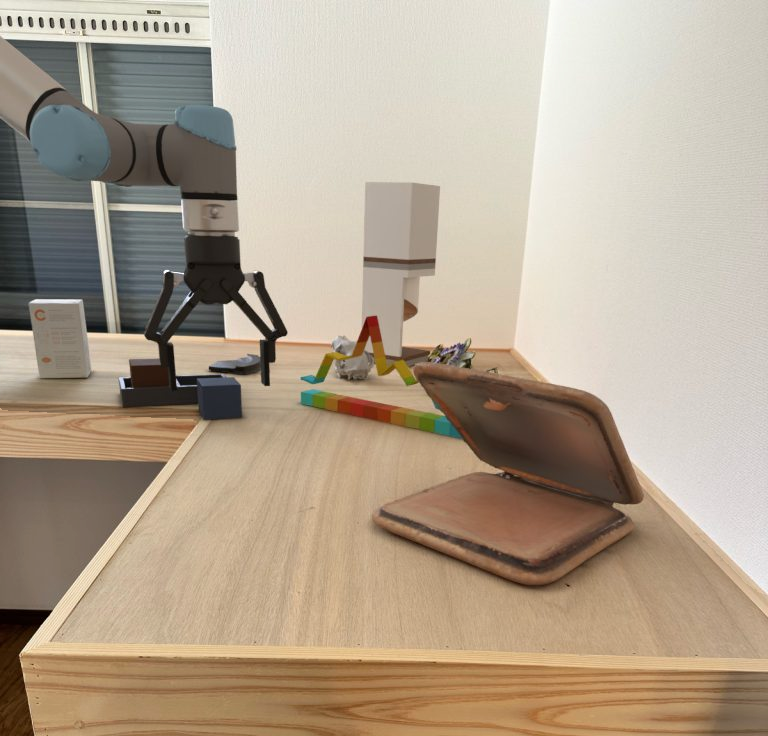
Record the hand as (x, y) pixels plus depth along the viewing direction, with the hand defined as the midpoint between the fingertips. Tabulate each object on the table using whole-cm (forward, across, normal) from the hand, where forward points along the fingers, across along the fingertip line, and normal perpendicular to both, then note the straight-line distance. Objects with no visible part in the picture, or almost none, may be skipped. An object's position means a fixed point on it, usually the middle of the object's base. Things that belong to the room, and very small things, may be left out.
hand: (220, 386), depth 108 cm
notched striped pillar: (+5, +44, +38) cm, 58 cm away
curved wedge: (+4, +10, +35) cm, 37 cm away
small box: (+4, -22, +34) cm, 41 cm away
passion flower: (+5, +42, +4) cm, 42 cm away
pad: (+4, 0, 0) cm, 4 cm away
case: (+5, +20, -51) cm, 55 cm away
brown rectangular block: (+3, -9, +12) cm, 15 cm away
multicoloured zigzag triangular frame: (+5, +23, -8) cm, 25 cm away
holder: (+4, -5, +12) cm, 14 cm away
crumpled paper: (+4, +29, +24) cm, 38 cm away
